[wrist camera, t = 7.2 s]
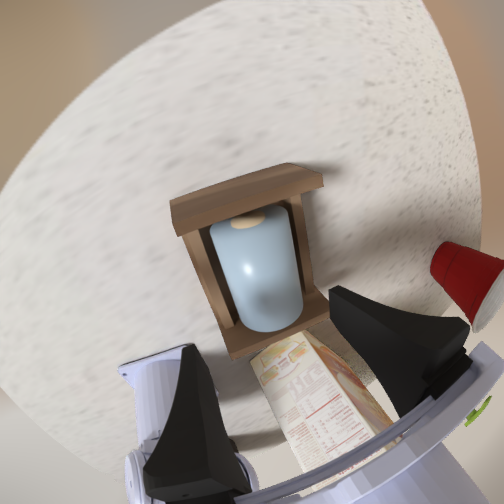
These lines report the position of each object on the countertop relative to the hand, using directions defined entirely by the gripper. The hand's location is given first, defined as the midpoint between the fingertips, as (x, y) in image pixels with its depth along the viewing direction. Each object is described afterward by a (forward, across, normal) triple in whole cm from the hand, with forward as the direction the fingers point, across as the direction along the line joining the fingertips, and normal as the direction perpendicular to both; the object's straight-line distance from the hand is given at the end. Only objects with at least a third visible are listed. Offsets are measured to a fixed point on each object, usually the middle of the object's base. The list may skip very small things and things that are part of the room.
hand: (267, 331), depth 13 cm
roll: (+8, -3, 0) cm, 9 cm away
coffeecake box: (+10, -5, +18) cm, 22 cm away
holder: (+10, -2, 0) cm, 10 cm away
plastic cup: (+10, -29, +13) cm, 33 cm away
